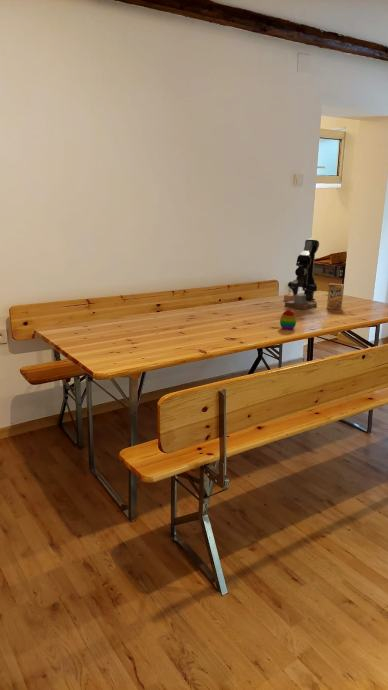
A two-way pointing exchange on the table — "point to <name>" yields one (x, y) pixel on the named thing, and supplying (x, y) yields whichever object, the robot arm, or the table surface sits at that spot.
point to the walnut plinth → (301, 305)
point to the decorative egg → (288, 320)
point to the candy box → (335, 296)
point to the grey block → (300, 299)
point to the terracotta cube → (288, 297)
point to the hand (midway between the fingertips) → (301, 299)
